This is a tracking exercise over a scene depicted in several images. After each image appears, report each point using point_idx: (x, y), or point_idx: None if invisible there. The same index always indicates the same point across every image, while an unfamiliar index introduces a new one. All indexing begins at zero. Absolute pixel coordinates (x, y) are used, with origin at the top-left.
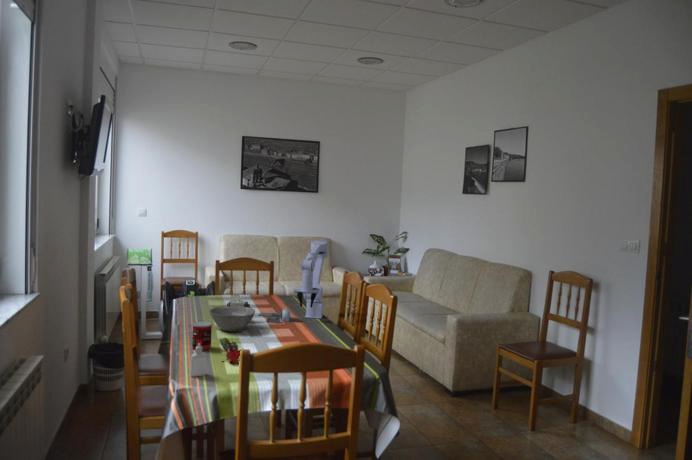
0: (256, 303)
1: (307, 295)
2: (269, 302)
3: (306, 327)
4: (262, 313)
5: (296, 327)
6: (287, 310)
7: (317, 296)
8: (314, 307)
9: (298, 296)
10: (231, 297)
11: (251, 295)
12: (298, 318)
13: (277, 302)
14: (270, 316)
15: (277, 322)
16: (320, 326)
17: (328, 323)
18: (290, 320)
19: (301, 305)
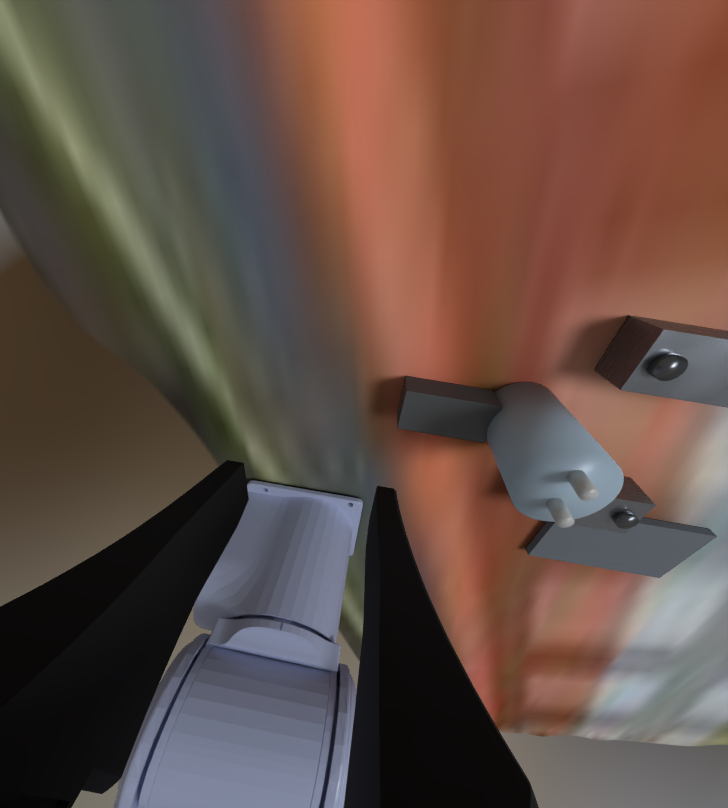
0: (592, 682)
1: (310, 726)
2: (523, 685)
3: (314, 141)
4: (661, 561)
5: (444, 108)
6: (561, 469)
7: (189, 698)
8: (270, 565)
9: (476, 739)
10: (671, 730)
11: (571, 732)
12: (410, 410)
13: (487, 683)
14: None
15: (646, 319)
16: (177, 234)
17: (156, 365)
18: (485, 394)
19: (378, 501)
